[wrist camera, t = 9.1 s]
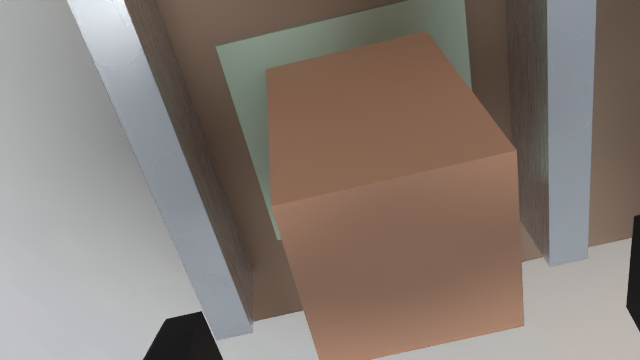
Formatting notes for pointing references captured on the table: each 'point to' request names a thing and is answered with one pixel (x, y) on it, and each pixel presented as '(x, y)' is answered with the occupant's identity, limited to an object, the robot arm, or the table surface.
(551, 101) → the inner rail
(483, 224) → the block
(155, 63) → the outer rail
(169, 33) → the track board
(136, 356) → the table surface
